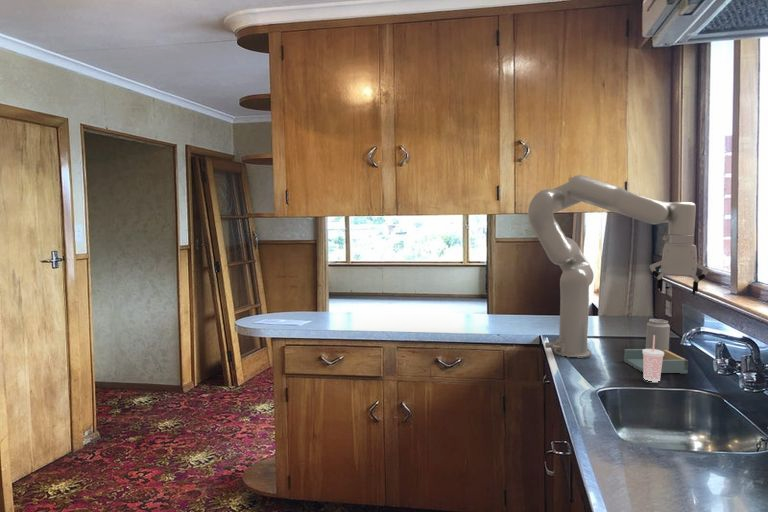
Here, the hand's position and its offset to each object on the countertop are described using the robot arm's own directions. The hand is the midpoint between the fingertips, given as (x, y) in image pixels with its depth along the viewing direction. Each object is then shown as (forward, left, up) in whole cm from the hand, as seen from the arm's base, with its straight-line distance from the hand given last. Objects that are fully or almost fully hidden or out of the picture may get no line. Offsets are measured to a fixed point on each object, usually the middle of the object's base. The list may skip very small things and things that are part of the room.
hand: (677, 292), depth 191 cm
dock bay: (-6, 0, -25) cm, 26 cm away
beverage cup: (-14, -13, -25) cm, 32 cm away
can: (+4, +17, -25) cm, 30 cm away
